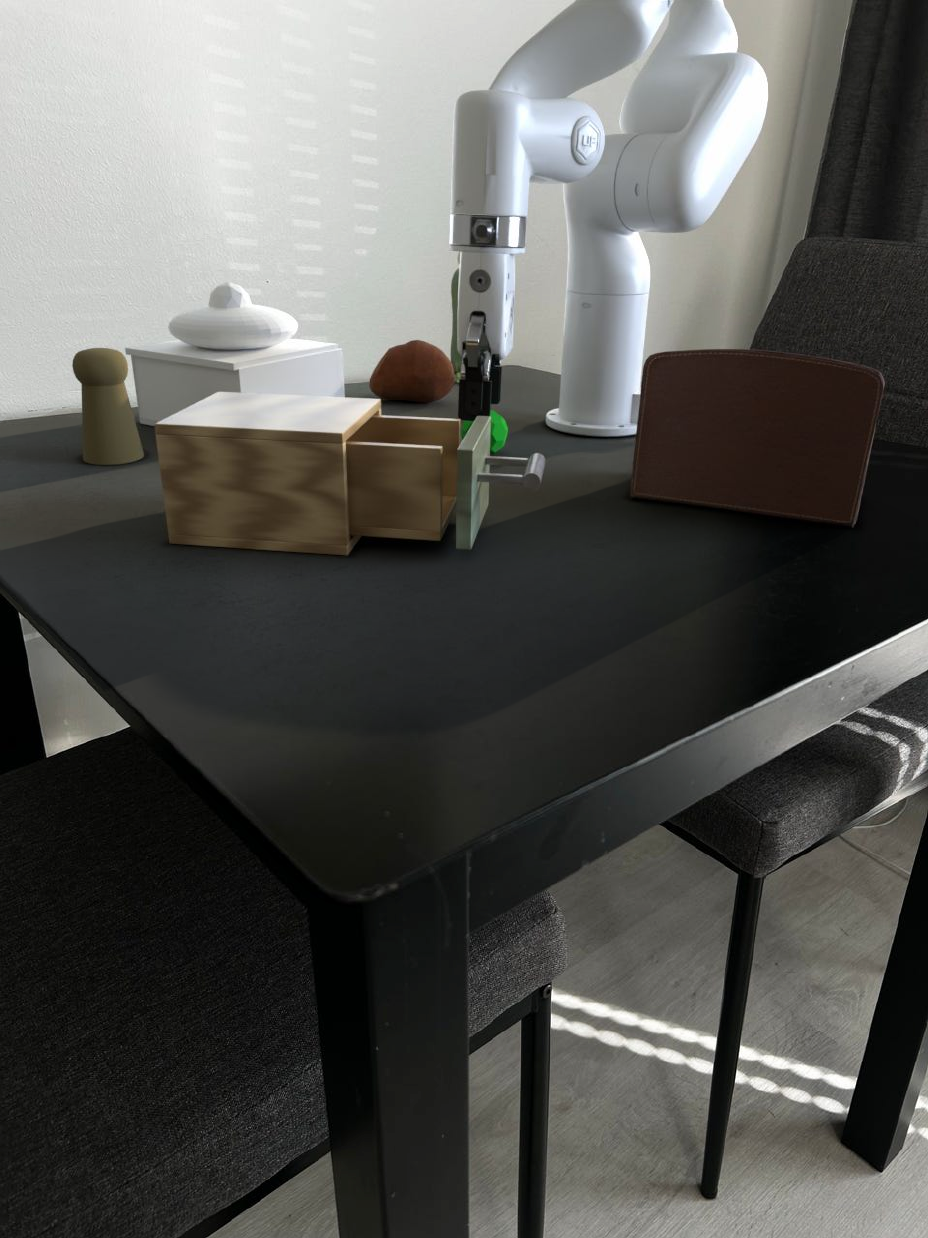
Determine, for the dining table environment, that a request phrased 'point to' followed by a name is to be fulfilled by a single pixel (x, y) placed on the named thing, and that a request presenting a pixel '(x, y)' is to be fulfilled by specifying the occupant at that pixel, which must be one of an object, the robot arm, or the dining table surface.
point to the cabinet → (260, 471)
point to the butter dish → (231, 357)
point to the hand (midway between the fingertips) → (479, 411)
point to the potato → (413, 373)
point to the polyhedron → (497, 431)
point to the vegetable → (455, 325)
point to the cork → (106, 408)
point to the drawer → (425, 477)
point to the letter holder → (756, 433)
